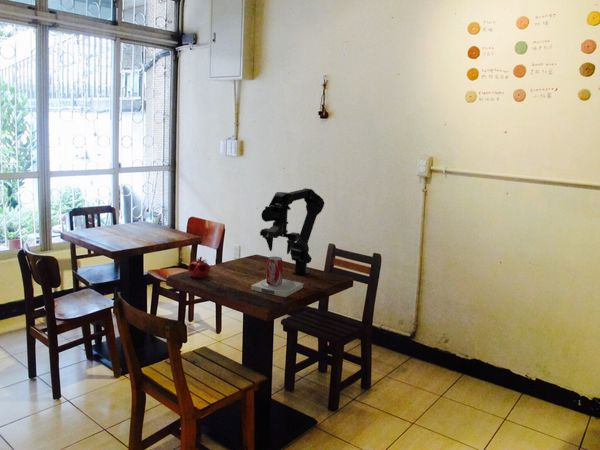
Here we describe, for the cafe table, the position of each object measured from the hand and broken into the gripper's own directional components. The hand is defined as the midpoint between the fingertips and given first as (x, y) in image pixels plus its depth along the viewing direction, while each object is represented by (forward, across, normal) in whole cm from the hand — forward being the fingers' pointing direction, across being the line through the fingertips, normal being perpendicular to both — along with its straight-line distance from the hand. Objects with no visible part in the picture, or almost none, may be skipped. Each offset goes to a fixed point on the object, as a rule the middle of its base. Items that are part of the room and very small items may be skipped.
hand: (279, 252), depth 245 cm
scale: (+13, +7, -13) cm, 20 cm away
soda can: (+11, +7, -16) cm, 20 cm away
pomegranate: (+13, -32, -18) cm, 39 cm away
